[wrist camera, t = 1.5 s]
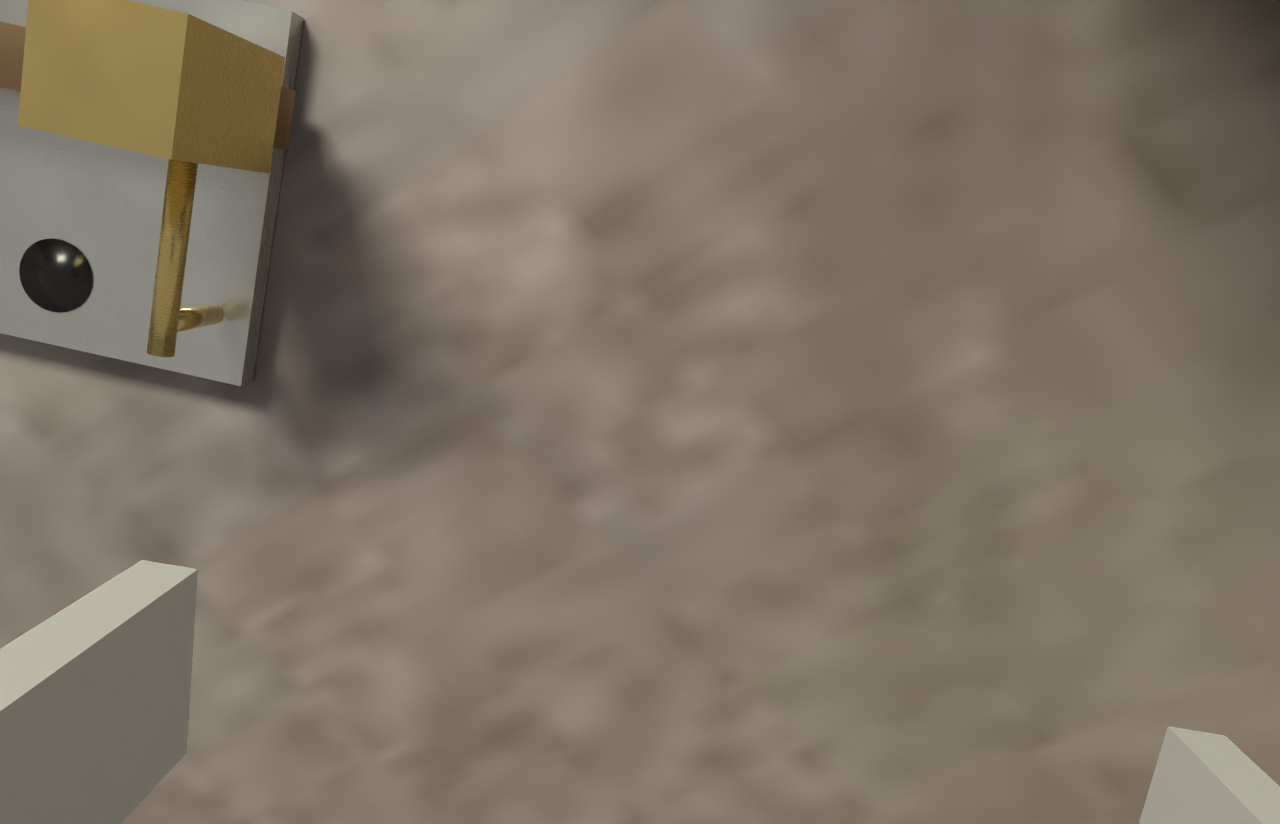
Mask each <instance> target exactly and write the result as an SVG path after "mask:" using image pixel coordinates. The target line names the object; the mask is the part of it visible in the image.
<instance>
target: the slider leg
mask: <svg viewBox="0 0 1280 824" xmlns="http://www.w3.org/2000/svg"><path fill="white" fill-rule="evenodd" d="M284 63H285V57H283V56H281V55H279V54H277V53H274V52H272V51H270V50H268V49H266V48H263V47H261V46H259V45H257V44H254V43H252V42H250V41H248V40H246V39H243V38H241V37H239V36H237V35H234V34H232V33H230V32H228V31H226V30H223V29H221V28H219V27H217V26H214V25H212V24H210V23H208V22H206V21H203V20H201V19H199V18H197V17H194V16H192V15H190V14H188V13H183V12H179V11H174V10H170V9H165V8H161V7H156V6H152V5H148V4H143V3H139V2H134V1H130V0H28V10H27V22H26V34H25V46H24V58H23V70H22V82H21V93H20V105H19V117H18V125H19V126H23V127H28V128H32V129H37V130H41V131H46V132H50V133H55V134H59V135H64V136H68V137H73V138H77V139H82V140H86V141H90V142H95V143H99V144H104V145H108V146H113V147H117V148H122V149H126V150H131V151H135V152H140V153H144V154H149V155H153V156H158V157H162V158H167V159H169V161H168V170H167V179H166V187H165V196H164V205H163V213H162V222H161V231H160V239H159V248H158V257H157V265H156V274H155V283H154V291H153V300H152V309H151V317H150V326H149V335H148V343H147V352H146V353H147V354H149V355H153V356H158V357H174V356H175V349H176V341H177V332H180V331H185V330H190V329H195V328H199V327H204V326H209V325H214V324H218V323H220V322H222V321H223V319H224V311H223V309H222V308H221V307H220V306H219V305H217V304H209V305H203V306H197V307H191V308H184V309H180V308H181V300H182V291H183V283H184V275H185V267H186V258H187V250H188V242H189V234H190V225H191V217H192V209H193V201H194V193H195V184H196V176H197V168H198V163H199V164H206V165H213V166H220V167H227V168H234V169H241V170H248V171H255V172H263V173H270V166H271V159H272V151H273V144H274V137H275V129H276V122H277V115H278V107H279V100H280V93H281V85H282V78H283V71H284Z"/></svg>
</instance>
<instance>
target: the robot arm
mask: <svg viewBox="0 0 1280 824" xmlns="http://www.w3.org/2000/svg"><path fill="white" fill-rule="evenodd" d="M197 574H198V569H193V568H187V567H181V566H175V565H169V564H162V563H156V562H150V561H144V560H141V561H140V562H138V563H136V564H135V565H133V566H132V567H130V568H128V569H127V570H125V571H124V572H122V573H120V574H119V575H117V576H116V577H114V578H113V579H111V580H109V581H108V582H106V583H105V584H103V585H101V586H100V587H98V588H97V589H95V590H93V591H92V592H90V593H89V594H87V595H85V596H84V597H82V598H81V599H79V600H77V601H76V602H74V603H73V604H71V605H69V606H68V607H66V608H65V609H63V610H61V611H60V612H58V613H57V614H55V615H53V616H52V617H50V618H49V619H47V620H45V621H44V622H42V623H41V624H39V625H37V626H36V627H34V628H33V629H31V630H29V631H28V632H26V633H25V634H23V635H22V636H20V637H18V638H17V639H15V640H14V641H12V642H10V643H9V644H7V645H6V646H4V647H2V648H1V649H0V824H121V823H122V822H123V821H124V819H125V818H126V817H127V816H128V815H129V814H130V813H131V812H132V811H133V810H134V809H135V808H136V807H137V805H138V804H139V803H140V802H141V801H142V800H143V799H144V798H145V797H146V796H147V795H148V794H149V793H150V792H151V790H152V789H153V788H154V787H155V786H156V785H157V784H158V783H159V782H160V781H161V780H162V779H163V778H164V776H165V775H166V774H167V773H168V772H169V771H170V770H171V769H172V768H173V767H174V766H175V765H176V764H177V763H178V761H179V760H180V759H181V758H182V757H183V756H184V755H185V754H186V753H187V737H188V721H189V705H190V688H191V672H192V656H193V639H194V623H195V607H196V591H197ZM1139 824H1280V787H1279V786H1278V785H1277V784H1276V783H1275V782H1274V781H1273V780H1272V779H1271V778H1270V777H1269V776H1268V775H1267V774H1265V773H1264V772H1263V771H1262V770H1261V769H1260V768H1259V767H1258V766H1257V765H1256V764H1255V763H1254V762H1253V761H1252V760H1251V759H1249V758H1248V757H1247V756H1246V755H1245V754H1244V753H1243V752H1242V751H1241V750H1240V749H1239V748H1238V747H1237V746H1236V745H1234V744H1233V743H1232V742H1231V741H1230V740H1229V739H1228V738H1227V737H1226V736H1224V735H1218V734H1212V733H1206V732H1200V731H1193V730H1187V729H1181V728H1175V727H1169V726H1168V728H1167V731H1166V734H1165V738H1164V741H1163V744H1162V748H1161V751H1160V755H1159V758H1158V761H1157V765H1156V768H1155V771H1154V775H1153V778H1152V782H1151V785H1150V788H1149V792H1148V795H1147V798H1146V802H1145V805H1144V809H1143V812H1142V815H1141V819H1140V822H1139Z"/></svg>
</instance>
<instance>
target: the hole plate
mask: <svg viewBox="0 0 1280 824" xmlns="http://www.w3.org/2000/svg"><path fill="white" fill-rule="evenodd" d="M130 1H134V2H139V3H143V4H148V5H152V6H156V7H161V8H165V9H170V10H174V11H179V12H183V13H188V14H190V15H192V16H194V17H197V18H199V19H201V20H203V21H206V22H208V23H210V24H212V25H214V26H217V27H219V28H221V29H223V30H226V31H228V32H230V33H232V34H234V35H237V36H239V37H241V38H243V39H246V40H248V41H250V42H252V43H254V44H257V45H259V46H261V47H263V48H266V49H268V50H270V51H272V52H274V53H277V54H279V55H281V56H283V57H285V63H284V71H283V78H282V85H281V86H283V87H286V88H288V89H291V90H294V84H295V77H296V69H297V62H298V55H299V48H300V41H301V33H302V26H303V19H304V18H303V17H301V16H299V15H297V14H296V13H294V12H292V11H288V10H284V9H279V8H275V7H270V6H266V5H261V4H257V3H253V2H248V1H244V0H130ZM27 10H28V0H0V21H1V22H5V23H10V24H14V25H19V26H23V27H26V22H27ZM20 93H21V92H20V91H15V90H11V89H6V88H2V87H0V333H1V334H6V335H10V336H15V337H20V338H24V339H29V340H33V341H38V342H42V343H47V344H51V345H56V346H60V347H65V348H69V349H74V350H79V351H83V352H88V353H92V354H97V355H101V356H106V357H110V358H115V359H119V360H124V361H128V362H133V363H138V364H142V365H147V366H151V367H156V368H160V369H165V370H169V371H174V372H178V373H183V374H187V375H192V376H196V377H201V378H206V379H210V380H215V381H219V382H224V383H228V384H233V385H237V386H243V385H246V384H249V383H251V382H253V379H254V371H255V364H256V357H257V350H258V343H259V335H260V328H261V321H262V314H263V307H264V300H265V292H266V285H267V278H268V271H269V264H270V256H271V249H272V242H273V235H274V228H275V220H276V213H277V206H278V199H279V192H280V184H281V177H282V170H283V163H284V156H285V150H280V149H276V148H273V151H272V159H271V166H270V173H263V172H255V171H248V170H241V169H234V168H227V167H220V166H213V165H206V164H199V163H198V168H197V176H196V184H195V193H194V201H193V209H192V217H191V225H190V234H189V242H188V250H187V258H186V267H185V275H184V283H183V291H182V300H181V308H180V309H184V308H191V307H197V306H203V305H209V304H217V305H219V306H220V307H221V308H222V309H223V311H224V319H223V321H222V322H220V323H218V324H214V325H209V326H204V327H199V328H195V329H190V330H185V331H180V332H177V341H176V349H175V356H174V357H158V356H153V355H149V354H147V353H146V352H147V343H148V335H149V326H150V317H151V309H152V300H153V291H154V283H155V274H156V265H157V257H158V248H159V239H160V231H161V222H162V213H163V205H164V196H165V187H166V179H167V170H168V161H169V159H167V158H162V157H158V156H153V155H149V154H144V153H140V152H135V151H131V150H126V149H122V148H117V147H113V146H108V145H104V144H99V143H95V142H90V141H86V140H82V139H77V138H73V137H68V136H64V135H59V134H55V133H50V132H46V131H41V130H37V129H32V128H28V127H23V126H19V125H18V117H19V105H20Z"/></svg>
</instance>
